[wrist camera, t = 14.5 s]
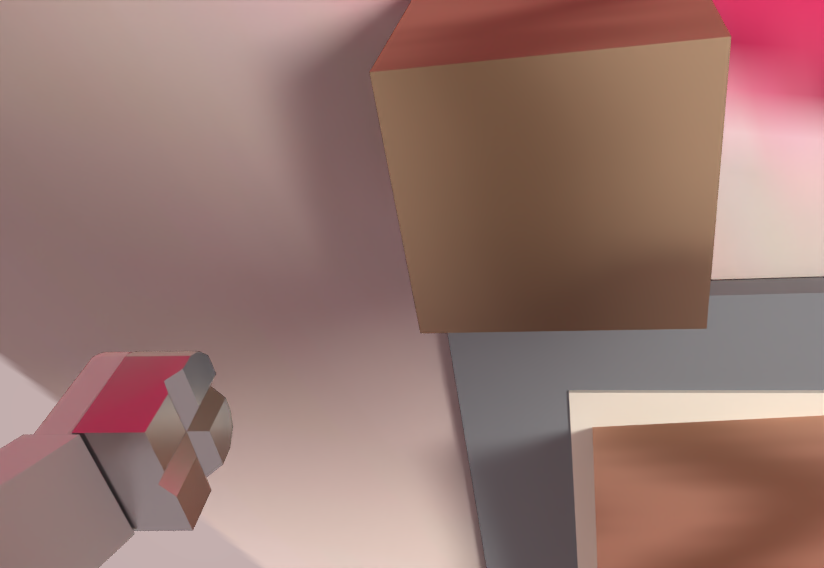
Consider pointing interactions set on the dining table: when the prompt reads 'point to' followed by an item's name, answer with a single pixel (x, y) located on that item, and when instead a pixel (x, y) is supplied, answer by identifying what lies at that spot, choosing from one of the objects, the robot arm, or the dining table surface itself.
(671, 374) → the build mat
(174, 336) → the dining table surface
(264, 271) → the dining table surface
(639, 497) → the terracotta block
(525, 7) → the walnut cube
